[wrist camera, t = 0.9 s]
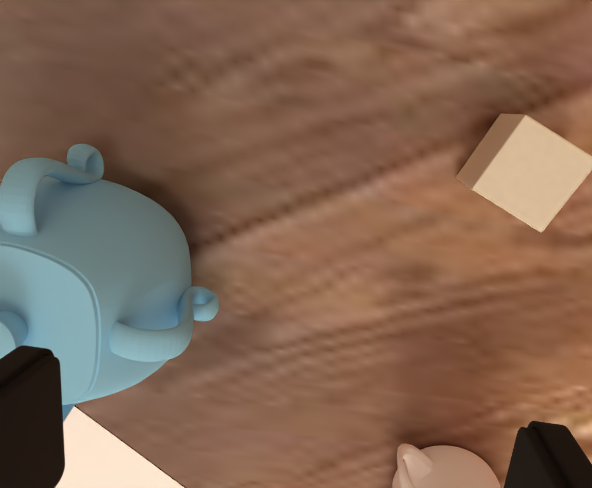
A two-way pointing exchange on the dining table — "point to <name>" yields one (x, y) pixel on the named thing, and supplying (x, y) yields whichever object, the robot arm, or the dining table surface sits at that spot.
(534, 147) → the cream block
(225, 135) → the dining table surface
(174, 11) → the dining table surface
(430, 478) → the mug
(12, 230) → the decorative pot
